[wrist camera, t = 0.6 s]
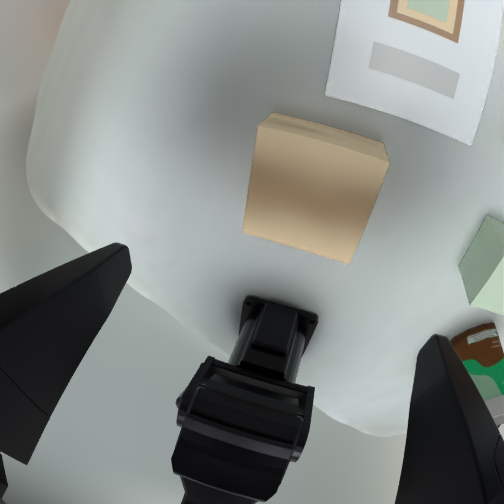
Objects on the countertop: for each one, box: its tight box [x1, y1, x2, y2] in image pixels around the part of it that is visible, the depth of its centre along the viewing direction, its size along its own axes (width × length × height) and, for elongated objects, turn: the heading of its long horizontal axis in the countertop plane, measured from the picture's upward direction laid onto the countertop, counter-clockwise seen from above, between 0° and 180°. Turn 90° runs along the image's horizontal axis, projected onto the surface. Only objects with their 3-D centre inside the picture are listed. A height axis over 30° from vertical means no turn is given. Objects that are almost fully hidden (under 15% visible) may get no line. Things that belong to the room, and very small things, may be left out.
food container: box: [450, 323, 504, 428], centre depth 20 cm, size 12×6×10 cm, turn 17°
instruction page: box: [325, 0, 504, 146], centre depth 10 cm, size 12×9×1 cm
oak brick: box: [242, 112, 390, 264], centre depth 17 cm, size 6×6×4 cm
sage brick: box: [458, 215, 504, 315], centre depth 15 cm, size 4×4×4 cm
